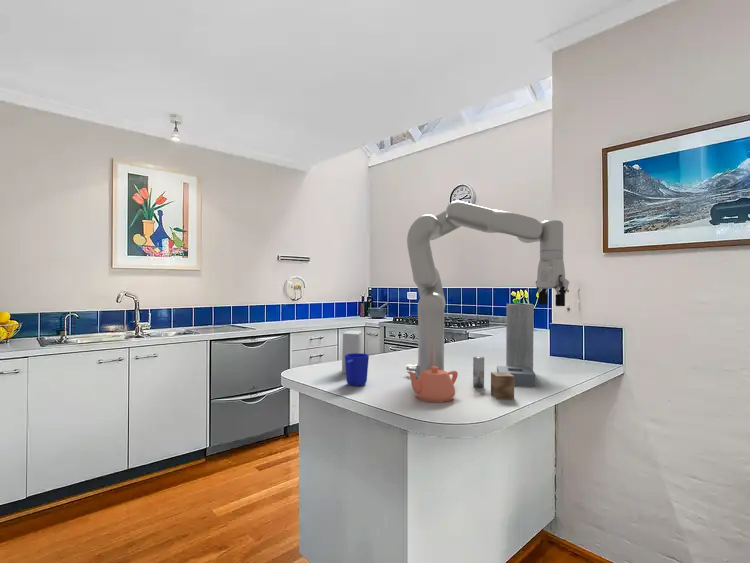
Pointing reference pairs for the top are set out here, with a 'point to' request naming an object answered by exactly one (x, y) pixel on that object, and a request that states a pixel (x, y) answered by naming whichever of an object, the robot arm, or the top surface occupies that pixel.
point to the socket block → (520, 375)
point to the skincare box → (350, 345)
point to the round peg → (478, 372)
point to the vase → (519, 335)
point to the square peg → (502, 385)
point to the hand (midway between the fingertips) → (551, 305)
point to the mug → (356, 368)
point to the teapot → (434, 385)
